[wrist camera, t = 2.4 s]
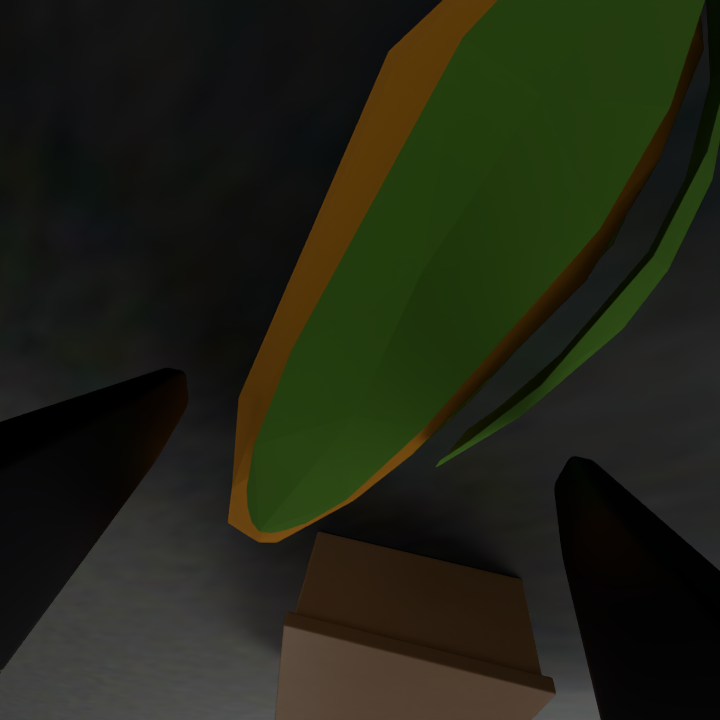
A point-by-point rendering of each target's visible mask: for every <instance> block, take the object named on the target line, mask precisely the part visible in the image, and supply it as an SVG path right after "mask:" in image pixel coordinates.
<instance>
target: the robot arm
mask: <svg viewBox="0 0 720 720" xmlns="http://www.w3.org/2000/svg"><path fill="white" fill-rule="evenodd" d="M187 404H188V392H187V381H186V375H185V373H184V372H183V371H181V370H176V369H172V368H164V369H161V370H158V371H154V372H151V373H148V374H145V375H142V376H139V377H136V378H133V379H130V380H127V381H124V382H121V383H118V384H115V385H112V386H109V387H106V388H103V389H99V390H96V391H93V392H90V393H87V394H84V395H81V396H78V397H75V398H72V399H69V400H66V401H63V402H60V403H57V404H54V405H51V406H48V407H44V408H41V409H38V410H35V411H32V412H29V413H26V414H23V415H20V416H17V417H14V418H11V419H8V420H5V421H2V422H0V670H2V669H3V668H4V667H5V666H6V664H7V663H8V662H9V660H10V659H11V658H12V656H13V655H14V654H15V652H16V651H17V649H18V648H19V647H20V645H21V644H22V643H23V641H24V640H25V639H26V637H27V636H28V634H29V633H30V632H31V630H32V629H33V628H34V626H35V625H36V624H37V622H38V621H39V619H40V618H41V617H42V615H43V614H44V613H45V611H46V610H47V609H48V607H49V606H50V604H51V603H52V602H53V600H54V599H55V598H56V596H57V595H58V594H59V592H60V591H61V589H62V588H63V587H64V585H65V584H66V583H67V581H68V580H69V579H70V577H71V576H72V574H73V573H74V572H75V570H76V569H77V568H78V566H79V565H80V564H81V562H82V561H83V559H84V558H85V557H86V555H87V554H88V553H89V551H90V550H91V549H92V547H93V546H94V545H95V543H96V542H97V540H98V539H99V538H100V536H101V535H102V534H103V532H104V531H105V530H106V528H107V527H108V525H109V524H110V523H111V521H112V520H113V519H114V517H115V516H116V515H117V513H118V512H119V510H120V509H121V508H122V506H123V505H124V504H125V502H126V501H127V500H128V498H129V497H130V495H131V494H132V493H133V491H134V490H135V489H136V487H137V486H138V485H139V483H140V482H141V480H142V479H143V478H144V476H145V475H146V474H147V472H148V471H149V470H150V468H151V467H152V465H153V464H154V462H155V461H156V459H157V458H158V456H159V454H160V453H161V451H162V449H163V448H164V446H165V444H166V442H167V441H168V439H169V437H170V435H171V434H172V432H173V430H174V429H175V427H176V425H177V423H178V422H179V420H180V418H181V416H182V415H183V413H184V411H185V409H186V407H187ZM554 491H555V500H556V509H557V517H558V525H559V533H560V542H561V549H562V556H563V561H564V565H565V570H566V574H567V578H568V583H569V587H570V591H571V595H572V600H573V604H574V608H575V612H576V617H577V621H578V625H579V629H580V634H581V638H582V642H583V646H584V651H585V655H586V659H587V663H588V667H589V672H590V676H591V680H592V684H593V689H594V693H595V697H596V701H597V706H598V710H599V714H600V718H601V720H720V571H719V570H718V569H717V568H716V567H715V566H714V565H712V564H711V563H710V562H709V561H708V560H707V559H706V558H704V557H703V556H702V555H701V554H700V553H699V552H697V551H696V550H695V549H694V548H693V547H692V546H691V545H689V544H688V543H687V542H686V541H685V540H684V539H683V538H681V537H680V536H679V535H678V534H677V533H676V532H674V531H673V530H672V529H671V528H670V527H669V526H668V525H666V524H665V523H664V522H663V521H662V520H661V519H660V518H658V517H657V516H656V515H655V514H654V513H653V512H652V511H650V510H649V509H648V508H647V507H646V506H645V505H643V504H642V503H641V502H640V501H639V500H638V499H637V498H635V497H634V496H633V495H632V494H631V493H630V492H629V491H627V490H626V489H625V488H624V487H623V486H622V485H620V484H619V483H618V482H617V481H616V480H615V479H614V478H612V477H611V476H610V475H609V474H608V473H607V472H606V471H604V470H603V469H602V468H601V467H600V466H599V465H598V464H596V463H595V462H594V461H592V460H590V459H586V458H581V457H577V456H574V457H571V458H570V459H569V460H568V461H567V463H566V465H565V467H564V468H563V470H562V472H561V473H560V475H559V477H558V479H557V481H556V483H555V490H554ZM0 673H1V672H0Z"/></svg>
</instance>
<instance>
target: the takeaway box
mask: <svg viewBox="0 0 720 720" xmlns="http://www.w3.org/2000/svg"><path fill="white" fill-rule="evenodd" d="M555 695H556V691H555V687H554V682H553V679H552V678H551V677H547V676H543V675H541V670H540V665H539V660H538V655H537V650H536V645H535V640H534V636H533V631H532V626H531V621H530V616H529V611H528V606H527V601H526V597H525V592H524V587H523V582H522V580H521V579H518V578H513V577H509V576H505V575H501V574H497V573H492V572H488V571H484V570H480V569H475V568H471V567H467V566H463V565H459V564H454V563H450V562H446V561H442V560H437V559H433V558H429V557H425V556H421V555H416V554H412V553H408V552H404V551H399V550H395V549H391V548H387V547H383V546H378V545H374V544H370V543H366V542H362V541H357V540H353V539H349V538H345V537H340V536H336V535H332V534H328V533H324V532H318V533H317V537H316V540H315V544H314V547H313V551H312V554H311V558H310V561H309V565H308V568H307V572H306V575H305V578H304V582H303V585H302V589H301V592H300V596H299V599H298V603H297V606H296V610H295V613H292V612H287V614H286V618H285V621H284V625H283V635H282V646H281V657H280V668H279V679H278V690H277V701H276V712H275V720H532V719H533V718H534V717H535V716H536V714H537V713H538V712H539V711H540V710H541V709H542V708H543V707H544V706H545V705H546V704H547V703H548V702H549V701H550V700H551V699H552V698H553V697H554V696H555Z"/></svg>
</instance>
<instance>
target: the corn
mask: <svg viewBox="0 0 720 720" xmlns="http://www.w3.org/2000/svg"><path fill="white" fill-rule="evenodd" d="M704 2H705V0H443V1H441V2H440V3H439V4H438V5H437V6H436V7H435V8H434V9H433V10H432V11H431V12H430V13H429V14H428V15H427V16H426V17H424V18H423V19H422V20H421V21H420V22H419V23H418V24H417V25H416V26H415V27H414V28H413V29H412V30H411V31H410V32H409V33H407V34H406V35H405V36H404V37H403V38H402V39H401V40H400V41H399V42H398V43H397V44H396V45H395V46H394V47H393V48H392V49H390V50H389V52H388V54H387V56H386V59H385V61H384V63H383V66H382V68H381V70H380V73H379V75H378V77H377V79H376V82H375V84H374V86H373V89H372V91H371V93H370V96H369V98H368V100H367V103H366V105H365V107H364V110H363V112H362V114H361V116H360V119H359V121H358V123H357V126H356V128H355V130H354V133H353V135H352V137H351V140H350V142H349V144H348V146H347V149H346V151H345V153H344V156H343V158H342V160H341V163H340V165H339V167H338V170H337V172H336V174H335V176H334V179H333V181H332V183H331V186H330V188H329V190H328V193H327V195H326V197H325V200H324V202H323V204H322V207H321V209H320V211H319V213H318V216H317V218H316V220H315V223H314V225H313V227H312V230H311V232H310V234H309V237H308V239H307V241H306V243H305V246H304V248H303V250H302V253H301V255H300V257H299V260H298V262H297V264H296V267H295V269H294V271H293V273H292V276H291V278H290V280H289V283H288V285H287V287H286V290H285V292H284V294H283V297H282V299H281V301H280V303H279V306H278V308H277V310H276V313H275V315H274V317H273V320H272V322H271V324H270V327H269V329H268V331H267V334H266V336H265V338H264V340H263V343H262V345H261V347H260V350H259V352H258V354H257V357H256V359H255V361H254V364H253V366H252V368H251V370H250V373H249V375H248V377H247V380H246V382H245V384H244V387H243V389H242V391H241V394H240V396H239V401H238V414H237V428H236V441H235V454H234V468H233V481H232V492H231V500H230V508H229V516H228V523H229V524H231V525H232V526H234V527H235V528H237V529H238V530H240V531H241V532H243V533H244V534H246V535H248V536H249V537H251V538H253V539H254V540H256V541H258V542H272V543H277V542H279V541H281V540H283V539H284V538H286V537H288V536H290V535H292V534H294V533H295V532H297V531H299V530H301V529H303V528H304V527H306V526H308V525H310V524H312V523H314V522H315V521H317V520H319V519H321V518H323V517H325V516H326V515H328V514H330V513H332V512H334V511H336V510H337V509H339V508H341V507H343V506H345V505H346V504H348V503H350V502H352V501H354V500H355V499H356V498H357V497H359V496H360V495H361V494H363V493H364V492H365V491H366V490H368V489H369V488H370V487H371V486H373V485H374V484H375V483H376V482H378V481H379V480H380V479H381V478H383V477H384V476H385V475H387V474H388V473H389V472H390V471H392V470H393V469H394V468H395V467H397V466H398V465H399V464H400V463H402V462H403V461H405V460H406V459H408V458H409V457H410V456H411V455H412V454H413V453H414V452H415V451H416V450H417V449H418V448H420V447H421V446H422V445H423V444H424V443H425V442H426V441H427V440H428V439H429V438H430V437H432V436H433V435H434V434H435V433H436V432H437V431H438V430H439V429H440V428H441V427H442V426H444V425H445V424H446V423H447V422H448V421H449V420H450V419H451V418H452V417H453V416H454V415H455V414H457V413H458V412H459V411H460V410H461V409H462V408H463V407H464V406H465V405H466V404H467V403H469V402H470V400H471V399H472V398H473V397H474V396H475V395H476V394H477V393H478V392H479V391H480V389H481V388H482V387H483V386H484V385H485V384H486V383H487V382H488V381H489V380H490V378H491V377H492V376H493V375H494V374H495V373H496V372H497V371H498V370H499V369H500V367H501V366H502V365H503V364H504V363H505V362H506V361H507V360H508V359H509V358H510V356H511V355H512V354H513V353H514V352H515V351H516V350H517V349H518V348H519V347H520V346H521V345H522V344H523V343H524V342H525V341H526V340H527V339H528V338H529V337H530V336H531V335H532V334H533V333H534V332H535V331H536V330H537V329H538V328H539V327H540V326H541V325H542V324H543V323H544V322H545V321H546V320H547V319H548V318H549V317H550V316H551V315H552V314H553V313H554V312H555V311H556V310H557V309H558V308H559V307H560V306H561V305H562V304H563V303H564V302H565V301H566V300H567V299H568V298H569V297H570V296H571V295H572V294H573V293H574V292H575V291H576V290H577V289H578V288H579V287H580V286H581V285H582V284H583V283H584V282H585V281H586V280H587V278H588V276H589V275H590V273H591V271H592V270H593V268H594V267H595V265H596V263H597V262H598V260H599V259H600V258H601V257H602V255H603V254H604V253H605V252H606V251H607V250H608V249H609V248H610V247H611V246H612V244H613V243H614V241H615V239H616V236H617V234H618V232H619V230H620V228H621V225H622V223H623V221H624V219H625V217H626V215H627V213H628V211H629V209H630V208H631V206H632V204H633V203H634V201H635V199H636V198H637V196H638V195H639V193H640V191H641V190H642V188H643V186H644V185H645V183H646V181H647V180H648V178H649V177H650V175H651V173H652V171H653V170H654V168H655V166H656V164H657V162H658V160H659V158H660V156H661V153H662V151H663V148H664V146H665V143H666V141H667V138H668V136H669V133H670V131H671V129H672V126H673V124H674V121H675V119H676V116H677V114H678V111H679V109H680V106H681V104H682V101H683V99H684V96H685V94H686V92H687V89H688V87H689V84H690V82H691V79H692V77H693V74H694V72H695V69H696V67H697V64H698V62H699V60H700V57H701V55H702V52H703V50H704V47H703V35H702V24H701V11H702V8H703V5H704ZM706 2H707V22H708V42H709V63H710V85H709V89H708V93H707V97H706V101H705V105H704V109H703V112H702V116H701V120H700V124H699V128H698V132H697V136H696V140H695V144H694V148H693V151H692V155H691V159H690V163H689V167H688V171H687V175H686V179H685V181H684V183H683V185H682V187H681V189H680V191H679V193H678V195H677V197H676V199H675V201H674V203H673V204H672V206H671V208H670V210H669V212H668V214H667V216H666V218H665V220H664V222H663V224H662V226H661V228H660V230H659V232H658V234H657V236H656V238H655V240H654V242H653V244H652V246H651V248H650V250H649V252H648V253H647V254H646V255H645V256H644V258H643V259H642V260H641V261H640V262H639V263H638V265H637V266H636V267H635V268H634V269H633V270H632V271H631V273H630V274H629V275H628V276H627V277H626V278H625V280H624V281H623V282H622V283H621V284H620V285H619V287H618V288H617V289H616V290H615V291H614V292H613V294H612V295H611V296H610V297H609V298H608V299H607V301H606V302H605V303H604V304H603V305H602V306H601V308H600V309H599V310H598V311H597V312H596V313H595V315H594V316H593V317H592V318H591V319H590V320H589V321H588V323H587V324H586V325H585V326H584V327H583V328H582V330H581V331H580V332H579V333H578V334H577V335H576V337H575V338H574V339H573V340H572V341H571V342H570V344H569V345H568V346H567V347H566V348H565V349H564V351H563V352H562V353H561V354H560V355H559V356H558V357H557V358H555V359H554V360H553V361H552V362H551V363H550V364H549V365H547V366H546V367H545V368H544V369H543V370H542V371H540V372H539V373H538V374H537V375H536V376H535V377H534V378H532V379H531V380H530V381H529V382H528V383H527V384H525V385H524V386H523V387H522V388H521V389H520V390H519V391H517V392H516V393H515V394H514V395H513V396H512V397H510V398H509V399H508V400H507V401H506V402H505V403H504V404H502V405H501V406H500V407H499V408H497V409H496V410H495V411H493V412H492V413H490V414H489V415H488V416H486V417H485V418H483V419H482V420H481V421H479V422H478V423H476V424H475V425H474V426H472V427H471V428H470V429H468V430H467V431H466V432H465V433H464V434H463V436H462V437H461V438H460V439H459V441H458V442H457V443H456V444H455V446H454V447H453V448H452V449H451V450H450V452H449V454H448V455H447V456H446V457H445V458H443V459H442V460H440V461H439V463H438V464H437V466H439V465H441V464H443V463H444V462H446V461H448V460H449V459H451V458H453V457H454V456H456V455H458V454H459V453H461V452H463V451H464V450H466V449H468V448H469V447H471V446H473V445H474V444H476V443H477V442H479V441H481V440H482V439H484V438H486V437H487V436H489V435H491V434H492V433H494V432H496V431H497V430H499V429H501V428H502V427H504V426H506V425H507V424H509V423H511V422H512V421H514V420H515V419H517V418H519V417H520V416H522V415H523V414H524V413H525V412H526V411H528V410H529V409H530V408H531V407H532V406H533V405H535V404H536V403H537V402H538V401H539V400H540V399H542V398H543V397H544V396H545V395H546V394H547V393H549V392H550V391H551V390H552V389H553V388H554V387H556V386H557V385H558V384H559V383H560V382H561V381H563V380H564V379H565V378H566V377H567V376H568V375H570V374H571V373H572V372H573V371H574V370H575V369H577V368H578V367H579V366H580V365H581V364H582V363H584V362H585V361H586V360H587V359H588V358H589V357H591V356H592V355H593V354H594V353H595V352H596V351H598V350H599V349H600V348H601V347H602V346H603V345H605V344H606V343H607V342H608V341H609V340H610V339H612V338H613V337H614V336H615V335H616V334H617V333H619V332H620V331H621V330H622V329H623V328H624V327H625V325H626V324H627V323H628V322H629V320H630V319H631V318H632V316H633V315H634V314H635V313H636V311H637V310H638V309H639V307H640V306H641V305H642V304H643V302H644V301H645V300H646V298H647V297H648V296H649V294H650V293H651V292H652V291H653V289H654V288H655V287H656V285H657V284H658V283H659V282H660V280H661V279H662V278H663V276H664V275H665V274H666V272H667V271H668V270H669V267H670V265H671V263H672V261H673V259H674V257H675V255H676V253H677V251H678V249H679V247H680V245H681V243H682V241H683V239H684V237H685V235H686V233H687V231H688V229H689V226H690V224H691V222H692V220H693V218H694V216H695V214H696V212H697V210H698V208H699V206H700V204H701V202H702V200H703V198H704V196H705V194H706V192H707V190H708V188H709V186H710V183H711V181H712V179H713V174H714V169H715V163H716V158H717V153H718V147H719V142H720V0H706ZM437 466H436V467H437Z"/></svg>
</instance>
